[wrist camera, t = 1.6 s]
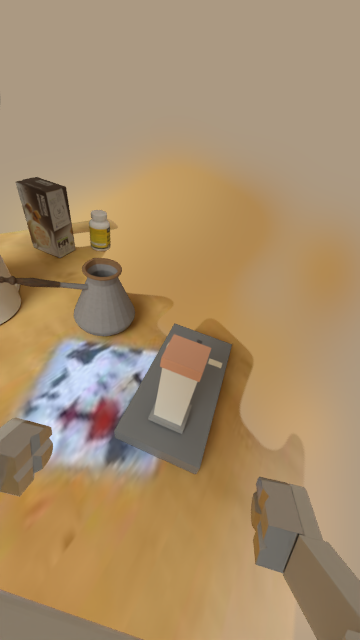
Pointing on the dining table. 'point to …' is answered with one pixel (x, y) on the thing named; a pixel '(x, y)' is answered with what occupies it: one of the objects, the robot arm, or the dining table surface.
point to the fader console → (193, 439)
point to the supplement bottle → (99, 231)
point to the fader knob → (178, 381)
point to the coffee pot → (94, 297)
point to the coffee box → (47, 215)
